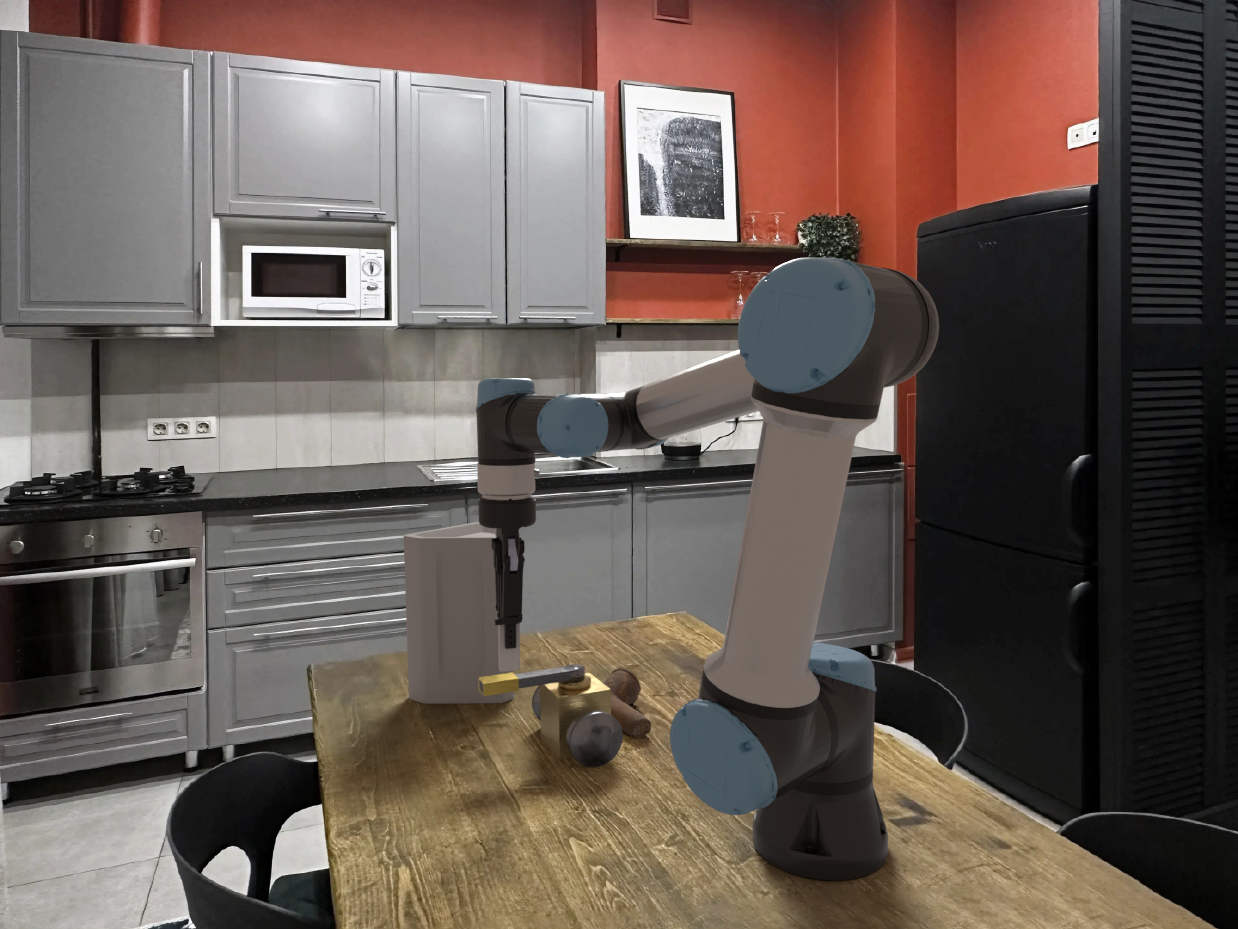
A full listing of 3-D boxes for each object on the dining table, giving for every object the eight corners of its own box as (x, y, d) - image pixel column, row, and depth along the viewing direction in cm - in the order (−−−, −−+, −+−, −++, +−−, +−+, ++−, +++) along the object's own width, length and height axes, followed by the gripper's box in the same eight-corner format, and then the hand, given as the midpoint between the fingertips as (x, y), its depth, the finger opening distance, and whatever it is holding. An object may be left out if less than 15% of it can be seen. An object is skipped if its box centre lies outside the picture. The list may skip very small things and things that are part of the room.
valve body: (624, 761, 122) (623, 694, 121) (571, 772, 118) (570, 703, 118) (579, 719, 137) (578, 659, 136) (531, 728, 134) (529, 666, 133)
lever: (580, 673, 129) (580, 662, 129) (587, 679, 126) (587, 667, 126) (478, 689, 122) (478, 677, 122) (484, 696, 120) (484, 684, 120)
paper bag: (465, 718, 138) (460, 545, 136) (406, 697, 147) (401, 535, 145) (547, 684, 153) (544, 528, 150) (489, 668, 162) (485, 520, 160)
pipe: (629, 714, 127) (681, 689, 133) (569, 682, 141) (619, 660, 146) (635, 753, 128) (686, 727, 134) (575, 718, 142) (624, 695, 147)
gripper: (543, 501, 109) (545, 683, 111) (528, 488, 121) (529, 652, 124) (483, 503, 107) (486, 688, 109) (473, 490, 119) (476, 656, 122)
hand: (509, 669), depth 116 cm, fingers closed
